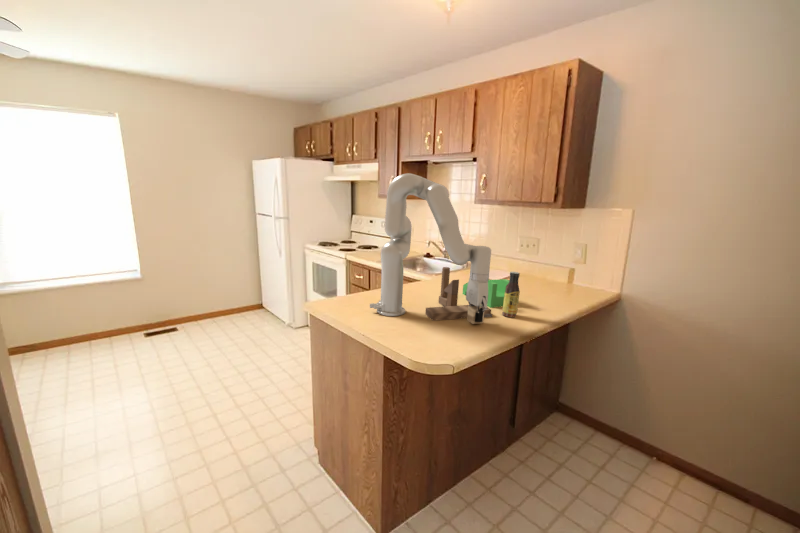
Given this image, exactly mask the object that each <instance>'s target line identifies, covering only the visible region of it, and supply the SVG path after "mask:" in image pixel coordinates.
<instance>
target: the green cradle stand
mask: <svg viewBox="0 0 800 533" xmlns="http://www.w3.org/2000/svg"><path fill="white" fill-rule="evenodd" d="M509 280H510V279H506V278H505V279H504V278H502V279H501V278H499V279H489V280H488V302H487V307H488V308H489V309H492V308H500V307H501V306H502V307H503V302H504V295H505V289H506V286H507V284H508V283H509ZM467 286H468V282H466V283H464V284H463V285H462V295H463V296H466V292H467Z"/></svg>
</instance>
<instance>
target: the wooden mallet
mask: <svg viewBox="0 0 800 533" xmlns="http://www.w3.org/2000/svg"><path fill="white" fill-rule="evenodd" d="M450 273H451V268H450V267H447V266H443V267H442V268H441V283H440V285H441V286H440V295H439V296H438V304H440V305H442V307H445V306H458V300H459V299H458V297H459V288H460V287H459V285H460V279H452V280H451V281H450Z"/></svg>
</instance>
